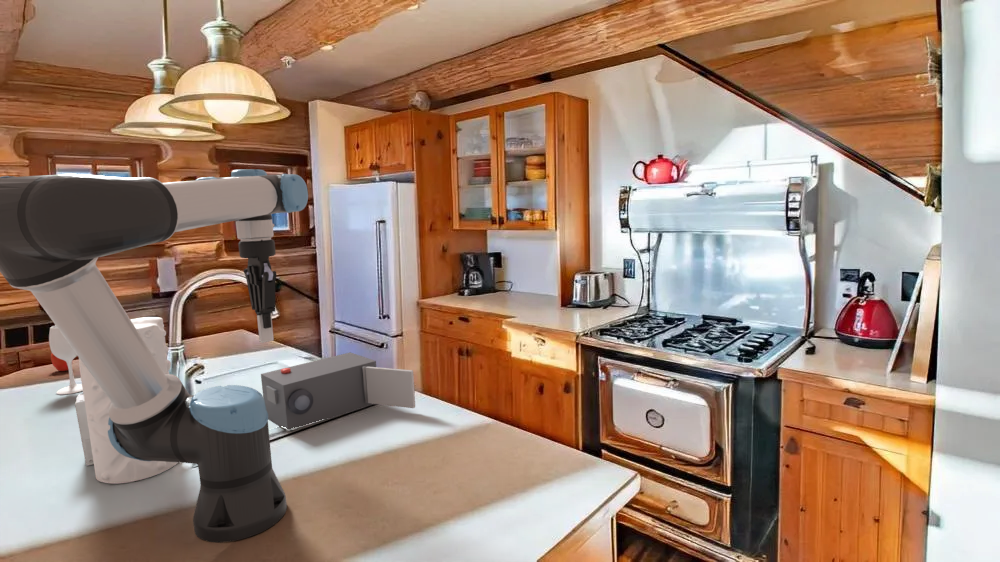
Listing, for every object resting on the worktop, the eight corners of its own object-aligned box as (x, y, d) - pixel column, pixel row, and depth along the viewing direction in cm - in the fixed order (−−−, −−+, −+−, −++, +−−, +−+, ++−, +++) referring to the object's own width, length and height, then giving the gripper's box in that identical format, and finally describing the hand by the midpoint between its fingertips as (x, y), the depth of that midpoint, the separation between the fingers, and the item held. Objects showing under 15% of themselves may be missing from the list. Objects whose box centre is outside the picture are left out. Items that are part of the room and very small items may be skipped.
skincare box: (117, 459, 125) (107, 396, 123) (84, 467, 122) (74, 402, 120) (117, 446, 132) (108, 386, 130) (86, 453, 129) (76, 392, 127)
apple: (48, 373, 196) (44, 352, 195) (64, 367, 203) (61, 347, 201) (63, 373, 195) (60, 352, 194) (79, 368, 201) (76, 348, 200)
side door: (367, 400, 153) (364, 365, 151) (416, 406, 147) (414, 369, 146) (364, 402, 151) (361, 367, 150) (413, 408, 146) (411, 371, 144)
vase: (83, 493, 111) (59, 337, 106) (102, 460, 125) (81, 321, 121) (181, 473, 118) (162, 326, 113) (188, 444, 132) (171, 312, 127)
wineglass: (76, 394, 172) (66, 328, 169) (49, 395, 172) (38, 329, 169) (97, 385, 180) (87, 322, 177) (70, 386, 181) (60, 322, 178)
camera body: (383, 404, 154) (379, 359, 152) (289, 435, 135) (284, 384, 133) (353, 391, 165) (349, 349, 163) (263, 418, 147) (258, 371, 145)
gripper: (284, 238, 123) (294, 342, 127) (261, 237, 132) (271, 333, 136) (250, 241, 118) (261, 349, 121) (228, 239, 127) (239, 340, 131)
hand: (266, 341), depth 129 cm, fingers closed
